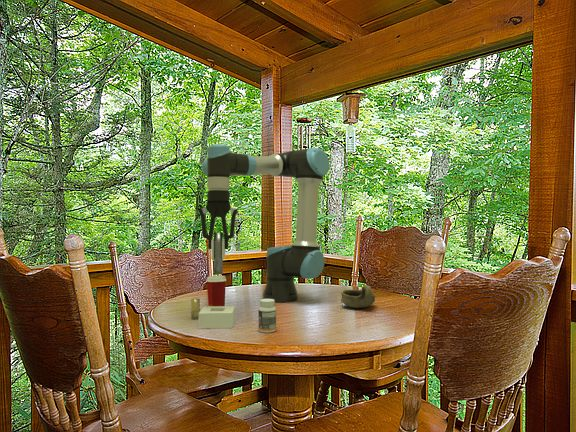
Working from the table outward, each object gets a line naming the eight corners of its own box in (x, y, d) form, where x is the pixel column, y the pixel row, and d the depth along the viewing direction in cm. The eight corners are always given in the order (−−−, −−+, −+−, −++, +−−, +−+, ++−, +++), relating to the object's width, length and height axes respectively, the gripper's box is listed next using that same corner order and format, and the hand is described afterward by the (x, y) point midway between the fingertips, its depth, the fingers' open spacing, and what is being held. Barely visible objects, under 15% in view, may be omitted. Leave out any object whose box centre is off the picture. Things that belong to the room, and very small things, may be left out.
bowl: (366, 303, 190) (366, 279, 190) (385, 312, 173) (385, 285, 173) (335, 305, 186) (335, 280, 186) (351, 314, 169) (351, 287, 169)
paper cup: (230, 312, 173) (230, 275, 173) (221, 317, 166) (220, 278, 166) (212, 311, 176) (211, 275, 176) (202, 315, 169) (201, 277, 169)
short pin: (200, 317, 166) (200, 298, 166) (198, 319, 163) (198, 299, 163) (192, 317, 166) (192, 298, 166) (190, 319, 163) (190, 299, 163)
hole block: (235, 320, 161) (235, 306, 161) (232, 328, 150) (232, 312, 150) (203, 320, 161) (203, 306, 161) (198, 328, 150) (198, 313, 150)
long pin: (223, 272, 158) (223, 232, 158) (222, 274, 155) (222, 232, 155) (214, 272, 158) (214, 232, 158) (213, 274, 155) (213, 232, 155)
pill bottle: (258, 328, 149) (258, 298, 149) (275, 328, 150) (275, 298, 150) (258, 333, 144) (258, 301, 144) (276, 332, 144) (276, 301, 144)
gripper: (242, 190, 160) (242, 257, 160) (196, 190, 160) (196, 257, 160) (241, 189, 153) (240, 259, 153) (192, 189, 152) (192, 259, 152)
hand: (218, 258), depth 156 cm, fingers closed on long pin, 3 cm apart
